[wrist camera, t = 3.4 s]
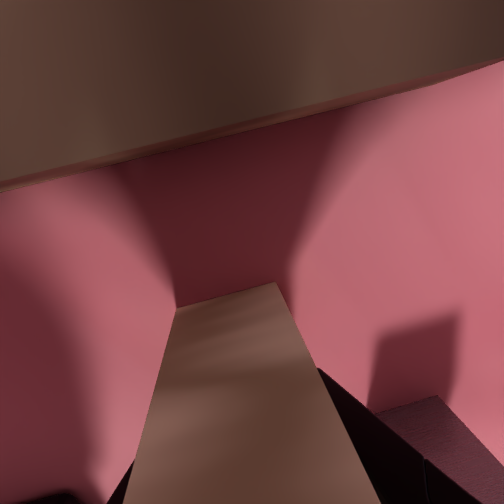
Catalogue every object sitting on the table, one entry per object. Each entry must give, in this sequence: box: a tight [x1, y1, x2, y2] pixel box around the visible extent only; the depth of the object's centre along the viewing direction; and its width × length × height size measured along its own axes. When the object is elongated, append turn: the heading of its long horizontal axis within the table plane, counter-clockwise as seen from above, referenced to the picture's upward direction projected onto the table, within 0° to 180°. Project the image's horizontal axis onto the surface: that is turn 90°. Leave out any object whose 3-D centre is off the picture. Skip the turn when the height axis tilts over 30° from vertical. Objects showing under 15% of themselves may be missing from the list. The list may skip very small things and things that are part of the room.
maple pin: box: [123, 282, 381, 504], centre depth 7 cm, size 4×4×9 cm
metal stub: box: [375, 395, 504, 504], centre depth 12 cm, size 4×4×5 cm
